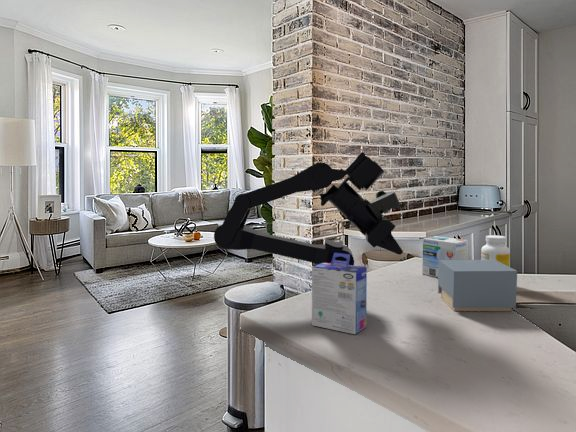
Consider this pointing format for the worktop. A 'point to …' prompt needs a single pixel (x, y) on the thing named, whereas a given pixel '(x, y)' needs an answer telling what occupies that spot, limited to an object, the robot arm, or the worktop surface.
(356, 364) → the worktop surface
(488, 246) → the supplement bottle
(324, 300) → the ink cartridge box
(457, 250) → the light bulb box
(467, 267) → the sleeve
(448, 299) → the tray
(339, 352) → the worktop surface
